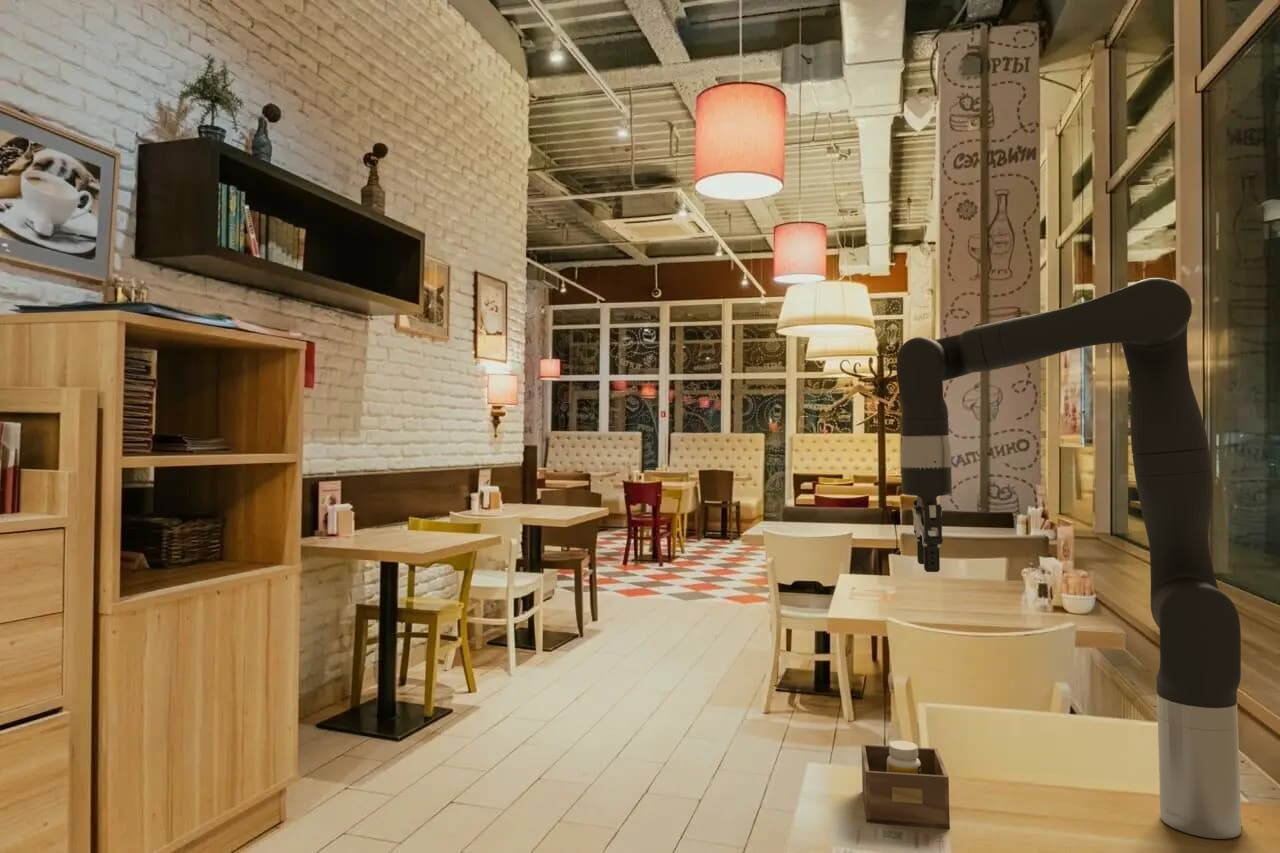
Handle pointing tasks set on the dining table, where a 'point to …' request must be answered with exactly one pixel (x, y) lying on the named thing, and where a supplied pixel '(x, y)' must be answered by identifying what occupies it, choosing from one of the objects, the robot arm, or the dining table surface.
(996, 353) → the robot arm
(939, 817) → the wooden box
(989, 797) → the dining table surface
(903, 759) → the supplement bottle
